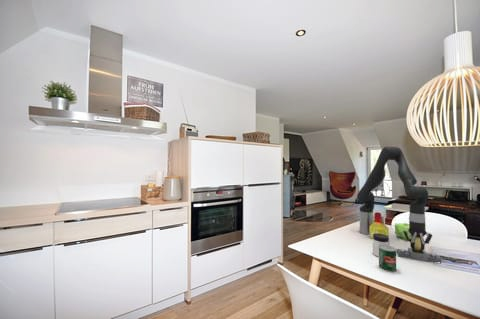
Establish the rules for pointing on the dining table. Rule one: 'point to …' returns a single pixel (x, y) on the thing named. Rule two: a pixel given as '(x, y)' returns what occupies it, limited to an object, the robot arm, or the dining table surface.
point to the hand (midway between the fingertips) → (417, 249)
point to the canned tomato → (387, 258)
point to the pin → (417, 245)
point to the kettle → (399, 230)
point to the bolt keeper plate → (418, 255)
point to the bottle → (378, 226)
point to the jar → (379, 242)
